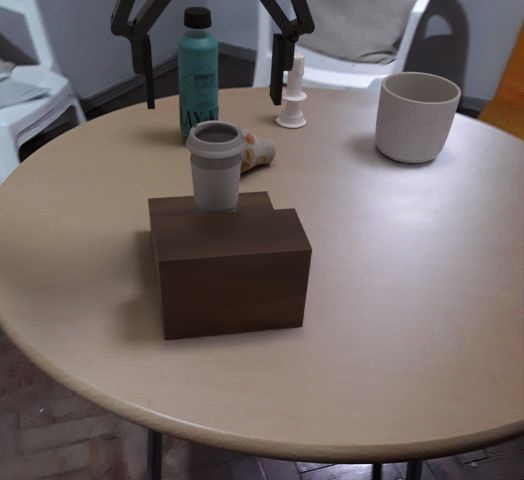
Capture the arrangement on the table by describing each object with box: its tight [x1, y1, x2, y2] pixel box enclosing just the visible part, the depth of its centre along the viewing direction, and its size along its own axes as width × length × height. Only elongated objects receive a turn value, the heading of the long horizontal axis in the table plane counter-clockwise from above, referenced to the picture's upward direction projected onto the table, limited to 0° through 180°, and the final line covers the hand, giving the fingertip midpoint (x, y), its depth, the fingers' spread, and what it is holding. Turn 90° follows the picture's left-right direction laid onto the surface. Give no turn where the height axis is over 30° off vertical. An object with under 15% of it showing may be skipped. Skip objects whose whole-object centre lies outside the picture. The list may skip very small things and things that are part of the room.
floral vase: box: [238, 126, 277, 174], centre depth 97 cm, size 8×10×10 cm
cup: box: [185, 120, 246, 215], centre depth 75 cm, size 7×7×12 cm
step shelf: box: [147, 190, 313, 341], centre depth 76 cm, size 22×16×11 cm
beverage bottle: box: [176, 6, 220, 138], centre depth 98 cm, size 6×7×20 cm
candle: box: [275, 50, 308, 129], centre depth 108 cm, size 5×5×12 cm
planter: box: [374, 71, 462, 164], centre depth 102 cm, size 12×12×11 cm
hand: (213, 102), depth 68 cm, fingers open, 13 cm apart
